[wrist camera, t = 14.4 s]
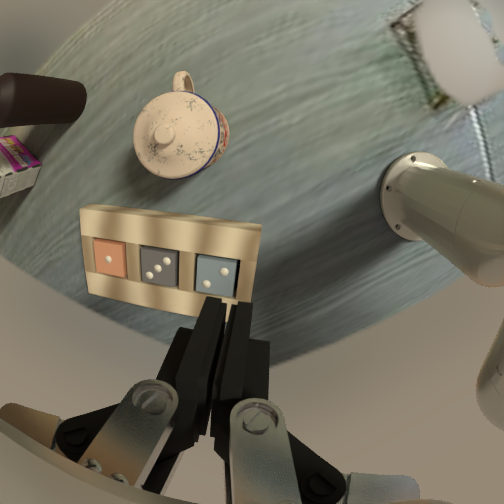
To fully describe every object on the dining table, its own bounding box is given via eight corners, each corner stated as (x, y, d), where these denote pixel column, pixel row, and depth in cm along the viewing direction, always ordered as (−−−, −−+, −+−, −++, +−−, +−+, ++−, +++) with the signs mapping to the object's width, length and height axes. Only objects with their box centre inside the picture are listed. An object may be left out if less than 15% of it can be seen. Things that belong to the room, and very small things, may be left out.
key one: (131, 238, 38) (121, 245, 35) (132, 268, 40) (123, 277, 37) (103, 233, 38) (93, 241, 35) (106, 263, 40) (96, 272, 37)
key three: (182, 245, 38) (175, 254, 35) (181, 277, 40) (174, 287, 37) (149, 240, 38) (140, 248, 35) (150, 271, 40) (141, 281, 37)
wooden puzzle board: (261, 224, 37) (261, 232, 34) (248, 313, 42) (246, 324, 39) (90, 203, 37) (79, 208, 34) (97, 284, 42) (88, 292, 39)
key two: (238, 254, 38) (236, 263, 35) (234, 286, 40) (232, 297, 37) (202, 248, 38) (197, 257, 35) (200, 280, 40) (195, 291, 37)
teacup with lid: (233, 168, 34) (215, 181, 23) (164, 172, 35) (122, 188, 24) (230, 77, 30) (212, 49, 19) (161, 85, 30) (118, 67, 19)
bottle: (76, 129, 32) (-30, 141, 14) (51, 115, 31) (-47, 125, 13) (94, 87, 30) (-11, 75, 12) (67, 77, 29) (-31, 67, 11)
